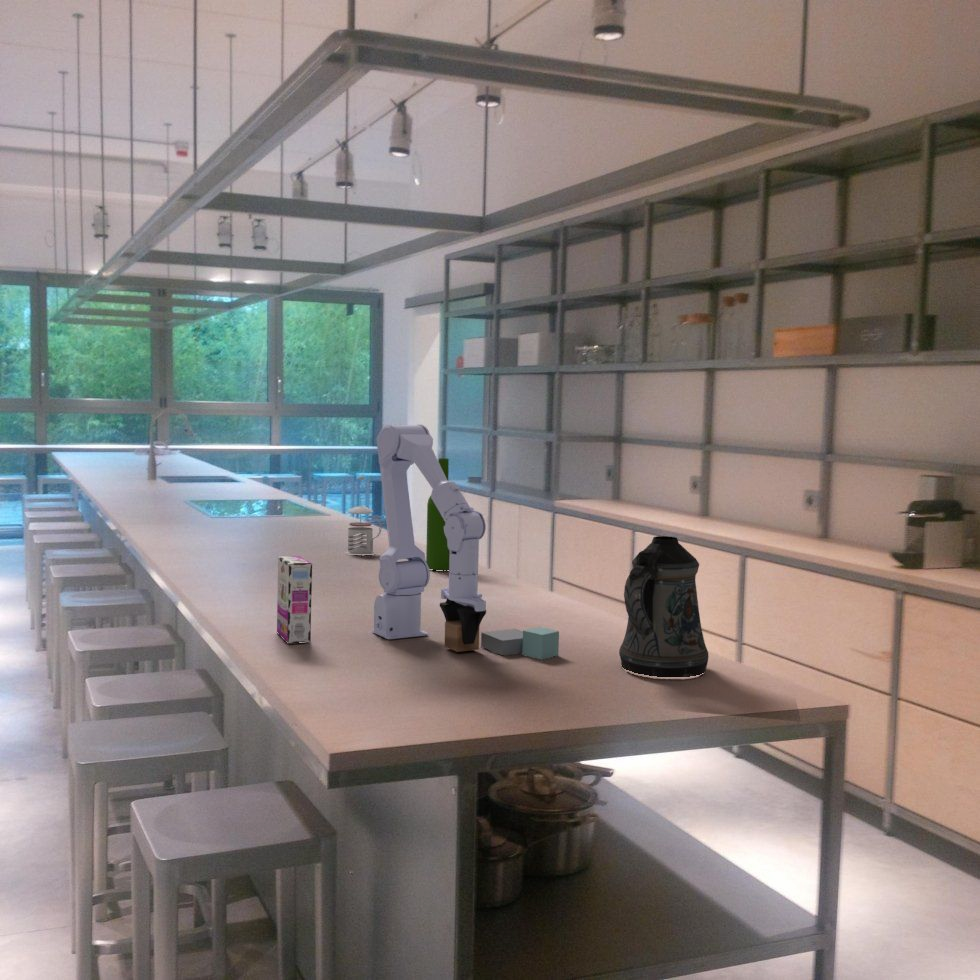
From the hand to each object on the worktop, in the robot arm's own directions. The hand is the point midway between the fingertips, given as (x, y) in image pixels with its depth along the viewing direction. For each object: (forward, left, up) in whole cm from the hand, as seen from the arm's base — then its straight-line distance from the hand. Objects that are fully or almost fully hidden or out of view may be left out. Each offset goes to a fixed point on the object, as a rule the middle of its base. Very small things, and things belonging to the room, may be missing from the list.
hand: (461, 640), depth 206 cm
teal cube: (+12, -10, -2) cm, 16 cm away
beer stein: (+26, -30, -2) cm, 40 cm away
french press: (+35, +126, -2) cm, 131 cm away
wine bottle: (+44, +90, -2) cm, 100 cm away
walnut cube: (0, 0, -2) cm, 2 cm away
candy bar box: (-26, +24, -2) cm, 35 cm away
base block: (+9, -3, -2) cm, 10 cm away
